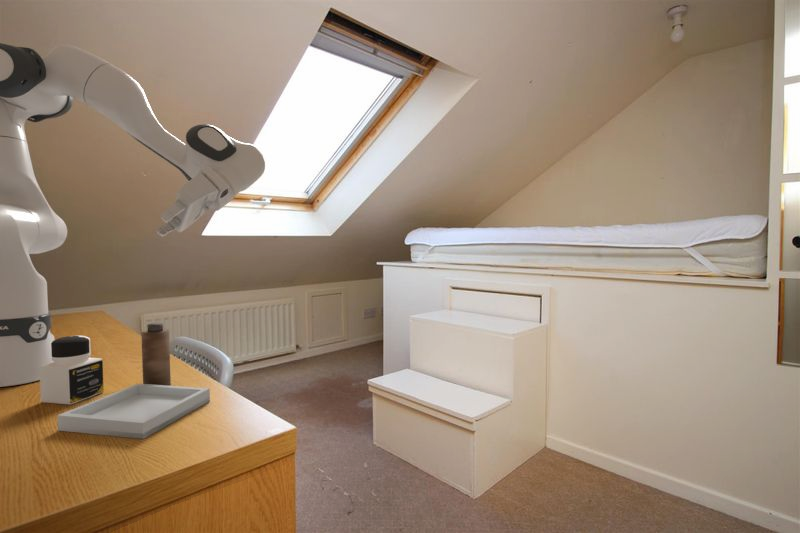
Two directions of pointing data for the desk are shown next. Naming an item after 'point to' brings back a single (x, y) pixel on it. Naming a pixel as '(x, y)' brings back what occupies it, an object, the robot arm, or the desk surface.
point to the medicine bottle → (71, 372)
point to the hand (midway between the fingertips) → (160, 226)
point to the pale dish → (134, 410)
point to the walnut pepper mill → (156, 355)
